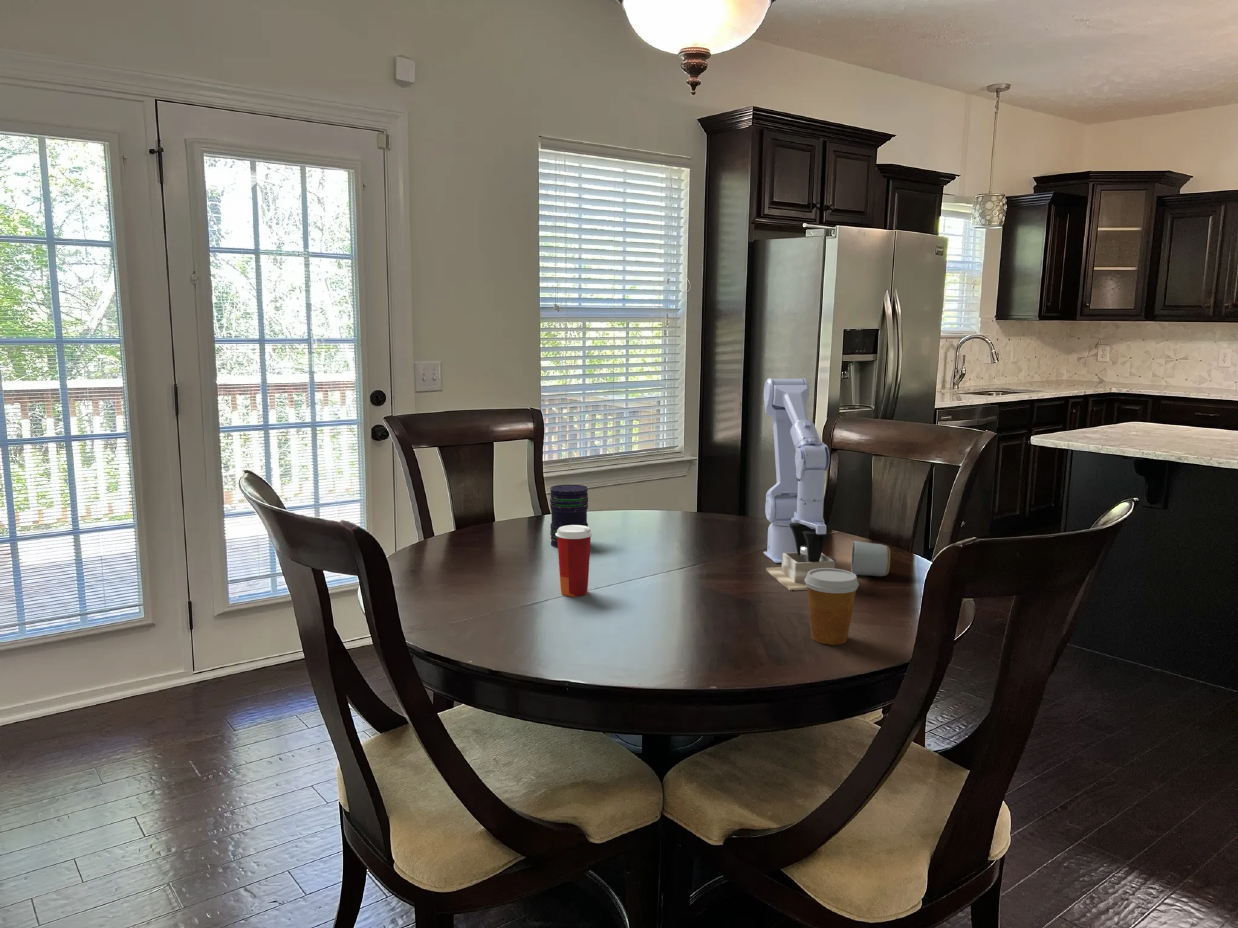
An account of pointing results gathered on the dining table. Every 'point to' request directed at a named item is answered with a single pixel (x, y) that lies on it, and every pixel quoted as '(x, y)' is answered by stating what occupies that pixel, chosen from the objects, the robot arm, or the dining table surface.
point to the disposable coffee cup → (830, 603)
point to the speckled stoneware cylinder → (870, 559)
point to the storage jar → (567, 508)
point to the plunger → (804, 552)
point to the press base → (798, 570)
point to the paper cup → (574, 559)
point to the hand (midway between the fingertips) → (808, 558)
